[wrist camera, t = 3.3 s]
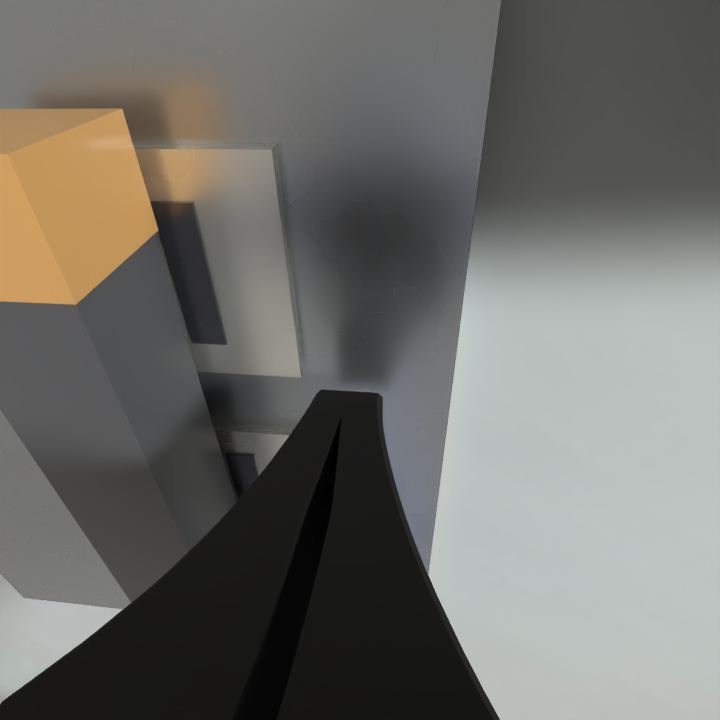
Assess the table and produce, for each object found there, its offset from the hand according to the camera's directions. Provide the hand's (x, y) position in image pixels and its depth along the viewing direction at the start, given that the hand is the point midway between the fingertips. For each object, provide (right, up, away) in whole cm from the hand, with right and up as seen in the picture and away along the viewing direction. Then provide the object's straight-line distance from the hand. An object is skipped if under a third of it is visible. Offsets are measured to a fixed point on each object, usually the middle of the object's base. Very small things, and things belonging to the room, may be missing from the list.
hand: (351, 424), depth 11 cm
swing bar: (-5, 0, +1) cm, 5 cm away
